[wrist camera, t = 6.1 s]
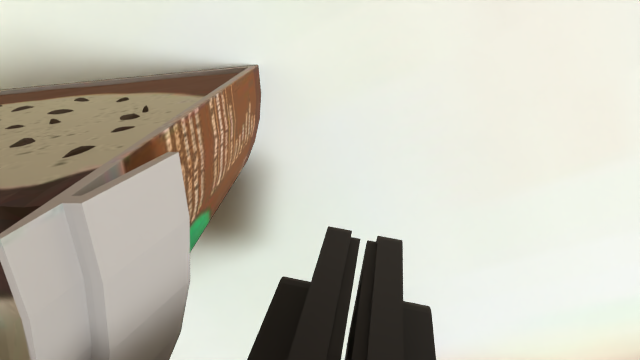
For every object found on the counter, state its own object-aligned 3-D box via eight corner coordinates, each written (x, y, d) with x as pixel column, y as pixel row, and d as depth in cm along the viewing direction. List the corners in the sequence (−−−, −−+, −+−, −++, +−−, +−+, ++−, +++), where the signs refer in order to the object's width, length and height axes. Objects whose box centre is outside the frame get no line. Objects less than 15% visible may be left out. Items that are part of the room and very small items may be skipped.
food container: (21, 249, 17) (-402, 535, 8) (-45, 94, 15) (-737, 249, 6) (330, 247, 15) (215, 652, 6) (308, 60, 12) (56, 238, 3)
